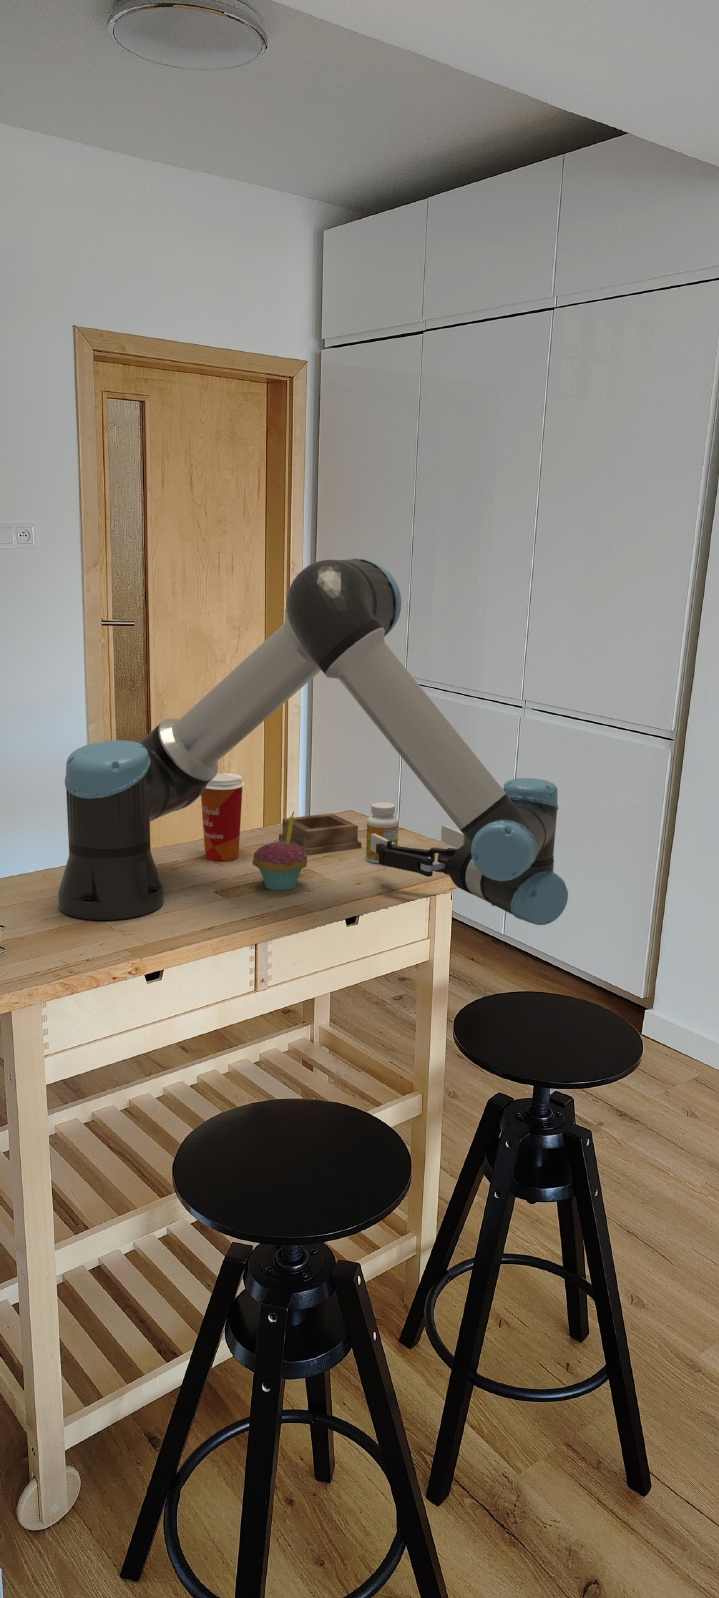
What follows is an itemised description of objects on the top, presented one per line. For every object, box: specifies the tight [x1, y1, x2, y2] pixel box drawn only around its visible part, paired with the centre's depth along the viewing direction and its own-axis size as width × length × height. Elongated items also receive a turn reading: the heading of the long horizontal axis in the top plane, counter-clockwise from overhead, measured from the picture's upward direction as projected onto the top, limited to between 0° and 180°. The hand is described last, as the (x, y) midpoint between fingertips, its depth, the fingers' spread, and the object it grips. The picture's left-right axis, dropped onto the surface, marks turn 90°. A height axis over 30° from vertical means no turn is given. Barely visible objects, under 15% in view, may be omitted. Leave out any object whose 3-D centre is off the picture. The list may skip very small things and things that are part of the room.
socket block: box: [278, 812, 362, 856], centre depth 193 cm, size 11×11×4 cm
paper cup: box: [200, 772, 245, 862], centre depth 182 cm, size 8×8×14 cm
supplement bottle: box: [365, 801, 399, 865], centre depth 183 cm, size 5×5×10 cm
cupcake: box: [251, 811, 308, 892], centre depth 168 cm, size 9×8×12 cm
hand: (408, 837), depth 177 cm, fingers open, 13 cm apart
